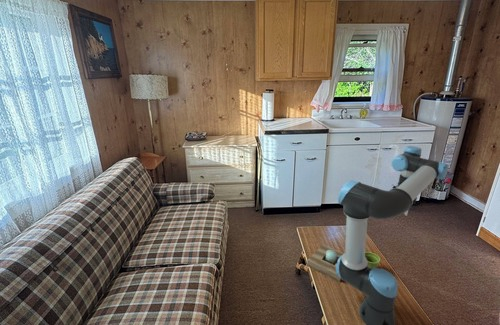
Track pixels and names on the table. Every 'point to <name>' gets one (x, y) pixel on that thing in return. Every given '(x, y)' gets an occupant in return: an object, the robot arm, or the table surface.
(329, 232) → the table surface
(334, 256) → the pale mint egg
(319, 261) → the dock
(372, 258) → the plant pot
